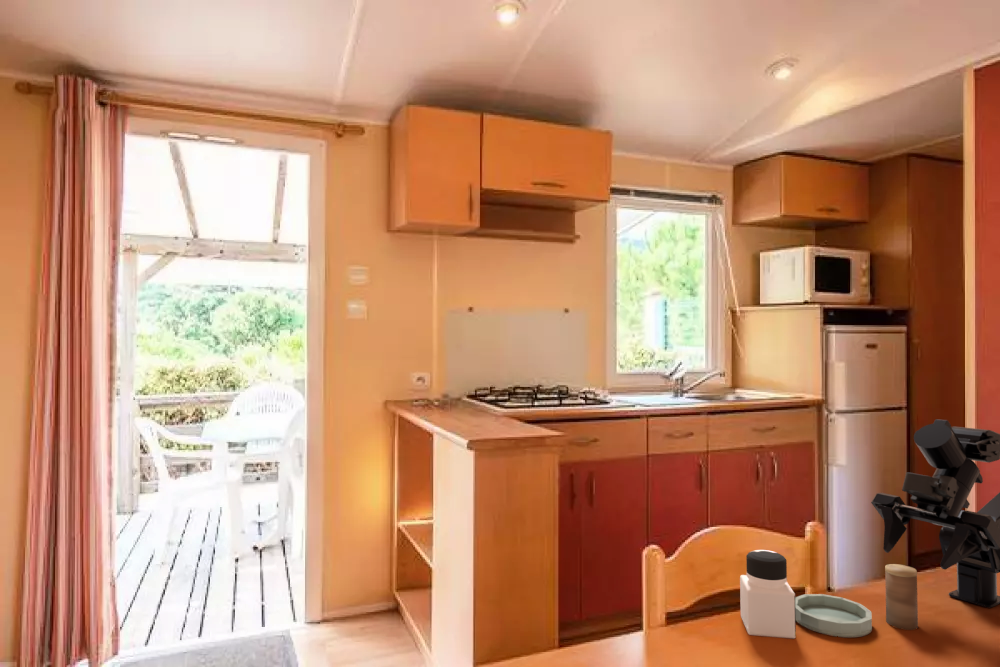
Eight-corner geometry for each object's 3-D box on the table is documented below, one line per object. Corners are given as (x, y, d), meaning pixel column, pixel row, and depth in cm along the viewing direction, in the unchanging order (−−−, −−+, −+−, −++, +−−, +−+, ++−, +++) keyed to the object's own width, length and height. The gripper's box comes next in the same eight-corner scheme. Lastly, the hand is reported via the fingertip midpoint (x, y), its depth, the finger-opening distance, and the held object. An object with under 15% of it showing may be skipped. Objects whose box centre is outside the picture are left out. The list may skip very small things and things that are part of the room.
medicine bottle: (796, 639, 98) (795, 562, 99) (748, 635, 100) (747, 559, 100) (785, 620, 105) (784, 547, 106) (740, 616, 107) (739, 545, 107)
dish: (819, 601, 113) (819, 589, 113) (886, 626, 103) (886, 612, 103) (777, 616, 107) (777, 603, 107) (844, 643, 97) (844, 629, 97)
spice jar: (895, 616, 107) (894, 562, 107) (923, 625, 103) (922, 570, 103) (880, 621, 104) (879, 567, 105) (908, 632, 101) (907, 575, 101)
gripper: (876, 448, 116) (838, 515, 111) (992, 465, 100) (953, 545, 94) (903, 486, 120) (867, 554, 114) (1019, 509, 103) (983, 589, 98)
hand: (912, 559), depth 105 cm, fingers open, 9 cm apart
